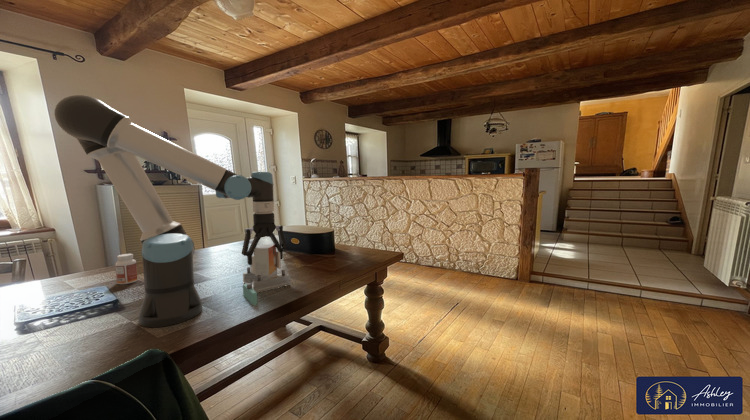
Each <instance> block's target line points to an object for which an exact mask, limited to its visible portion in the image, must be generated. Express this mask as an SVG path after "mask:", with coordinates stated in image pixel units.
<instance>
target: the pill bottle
mask: <svg viewBox="0 0 750 420" xmlns="http://www.w3.org/2000/svg"><path fill="white" fill-rule="evenodd" d="M116 258H117V261H116V262H115V276H116V277H115V278H116V283H117V285H120V286H121V285H128V284H133V283H136V282H137V281H138V268H137V260H136V259H134V254H133V253H122V254H119V255H117V257H116Z"/></svg>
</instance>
